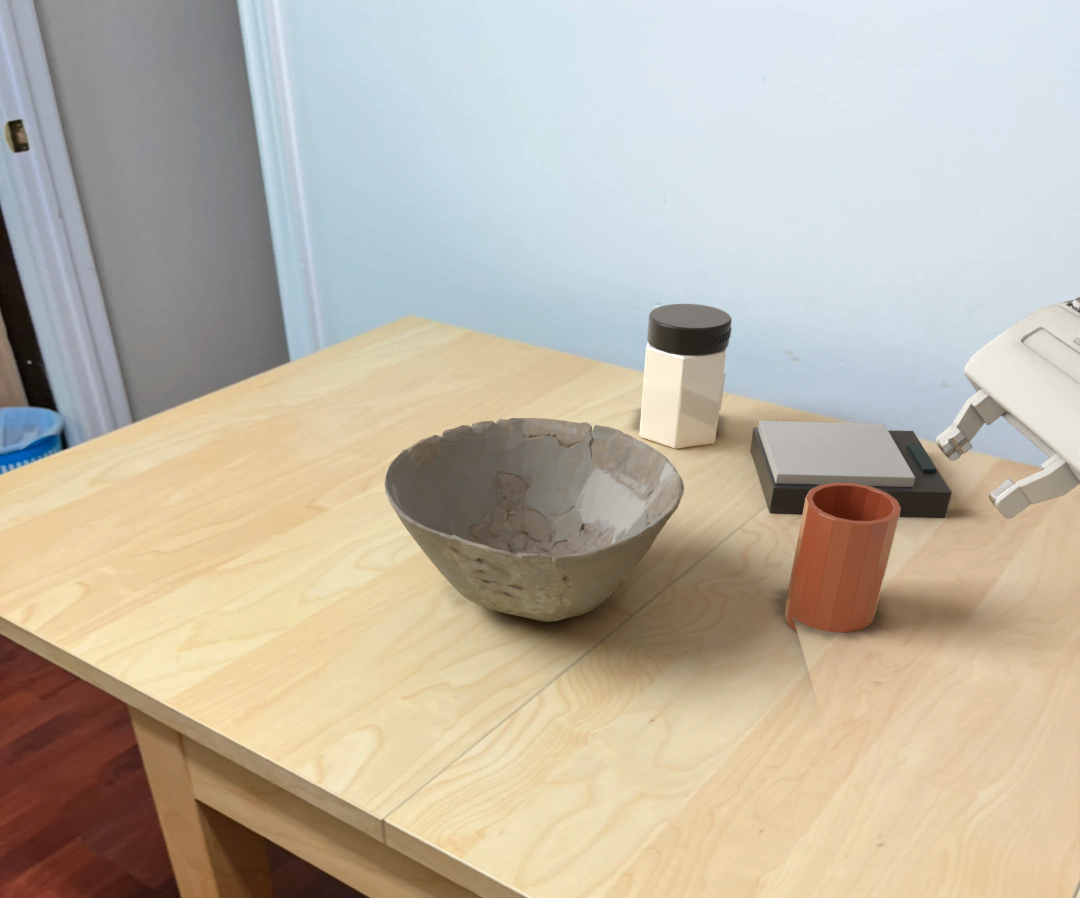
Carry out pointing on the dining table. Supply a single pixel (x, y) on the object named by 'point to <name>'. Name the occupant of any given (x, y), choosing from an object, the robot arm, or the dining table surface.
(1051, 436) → the robot arm
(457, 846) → the dining table surface
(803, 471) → the kitchen scale
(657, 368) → the jar
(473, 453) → the ceramic bowl
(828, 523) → the cup
